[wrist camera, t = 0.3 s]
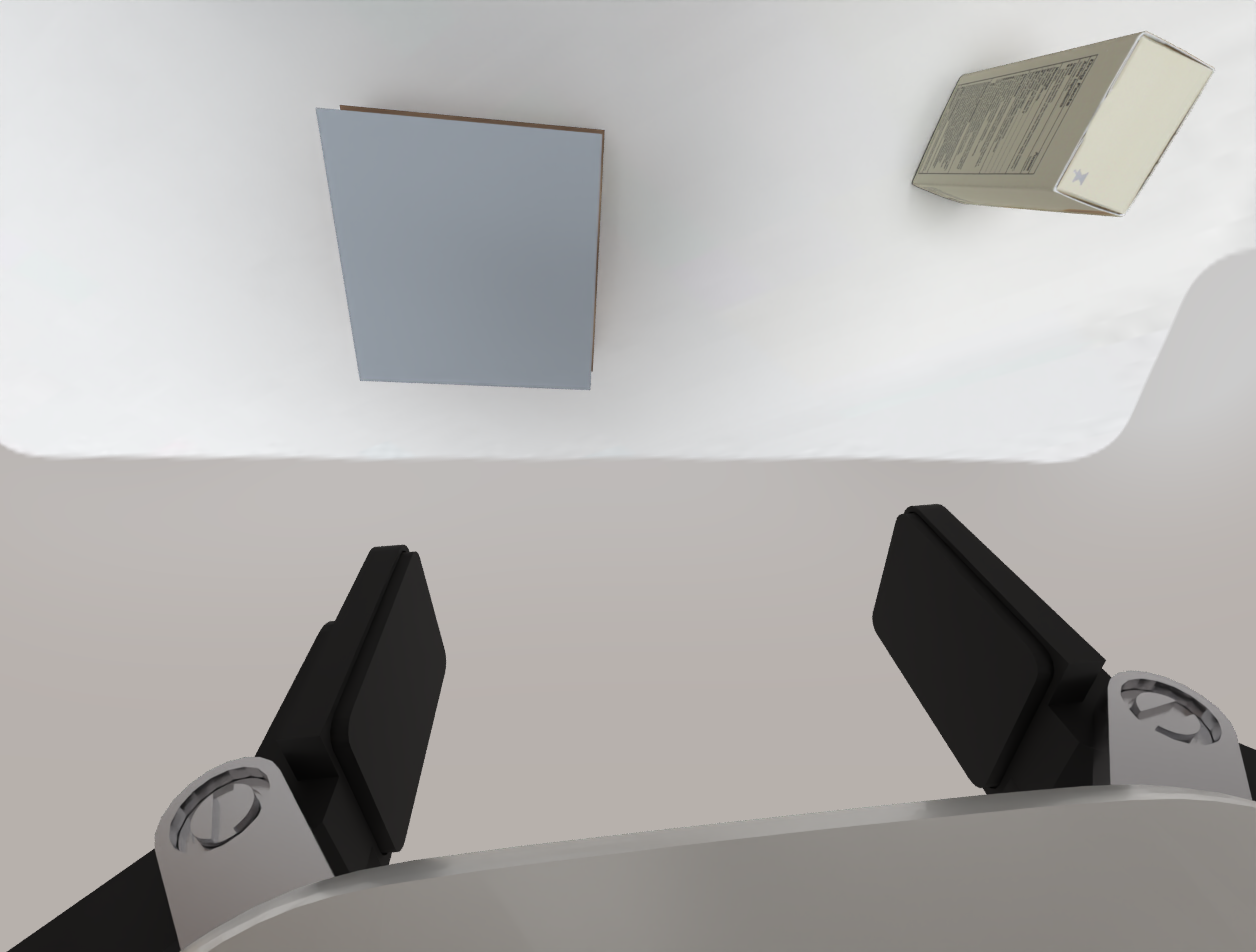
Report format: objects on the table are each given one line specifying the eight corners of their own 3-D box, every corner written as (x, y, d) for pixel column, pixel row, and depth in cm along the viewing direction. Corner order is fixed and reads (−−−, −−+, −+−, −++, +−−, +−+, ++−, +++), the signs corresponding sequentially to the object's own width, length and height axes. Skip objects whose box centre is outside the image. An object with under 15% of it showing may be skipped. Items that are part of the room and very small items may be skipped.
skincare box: (964, 205, 37) (1121, 227, 27) (907, 184, 36) (1047, 199, 26) (1023, 92, 34) (1226, 65, 24) (963, 66, 33) (1146, 27, 23)
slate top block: (355, 114, 28) (315, 107, 24) (597, 136, 29) (602, 134, 25) (387, 351, 34) (360, 380, 30) (587, 360, 35) (590, 390, 31)
